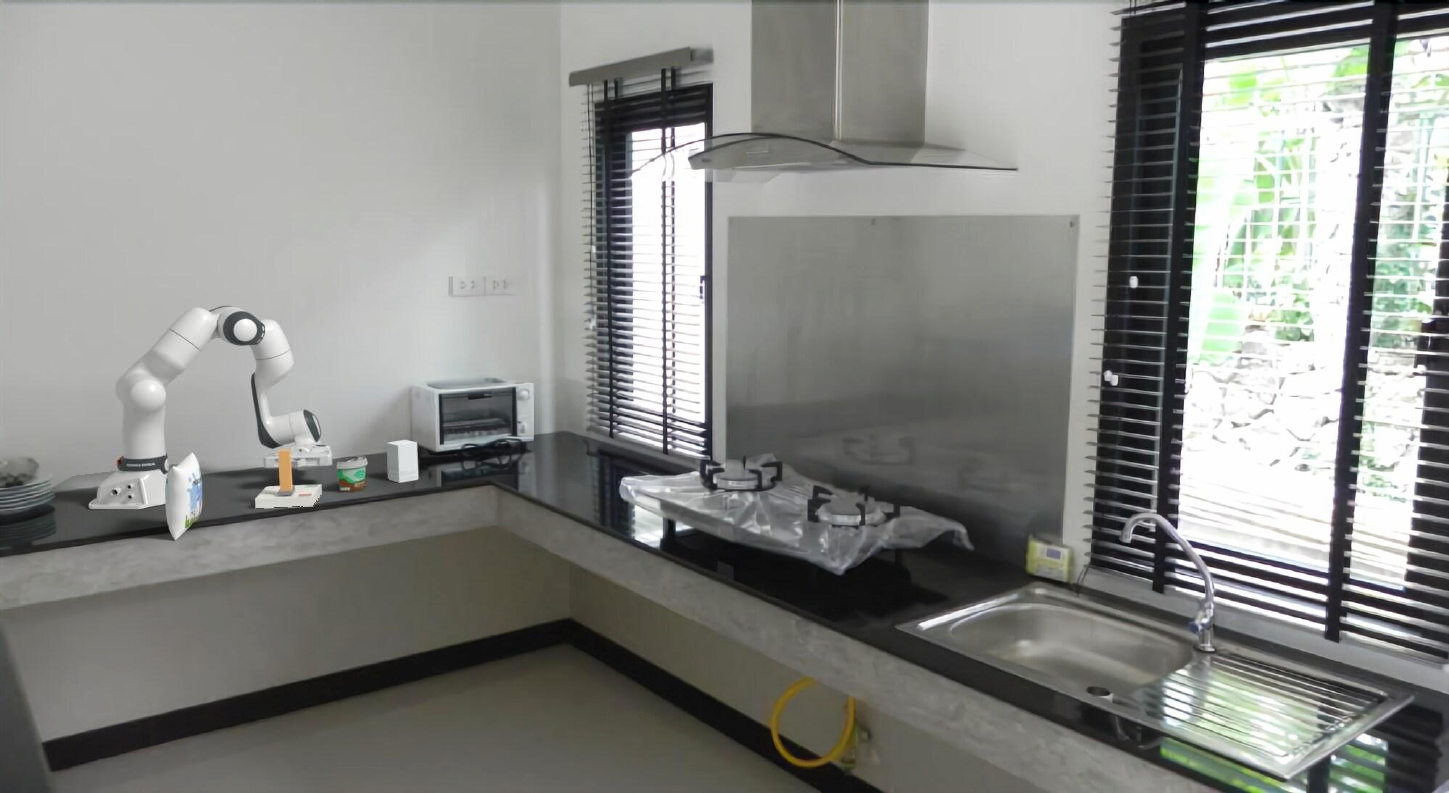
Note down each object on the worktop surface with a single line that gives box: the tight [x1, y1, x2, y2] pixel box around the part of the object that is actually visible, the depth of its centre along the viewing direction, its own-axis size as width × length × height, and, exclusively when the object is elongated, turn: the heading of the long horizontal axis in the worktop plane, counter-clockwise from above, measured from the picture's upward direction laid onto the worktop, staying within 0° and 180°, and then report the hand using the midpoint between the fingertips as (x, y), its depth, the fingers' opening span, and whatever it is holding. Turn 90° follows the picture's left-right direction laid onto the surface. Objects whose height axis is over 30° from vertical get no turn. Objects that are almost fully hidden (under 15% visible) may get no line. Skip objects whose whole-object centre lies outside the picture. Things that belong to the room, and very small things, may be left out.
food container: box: [336, 454, 369, 493], centre depth 336 cm, size 12×6×10 cm, turn 168°
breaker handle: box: [277, 449, 295, 496], centre depth 316 cm, size 4×5×13 cm
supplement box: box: [386, 439, 419, 483], centre depth 350 cm, size 7×7×13 cm
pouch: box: [164, 452, 203, 542], centre depth 286 cm, size 8×19×20 cm, turn 9°
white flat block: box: [254, 483, 323, 509], centre depth 321 cm, size 16×16×3 cm
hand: (294, 465), depth 329 cm, fingers closed
